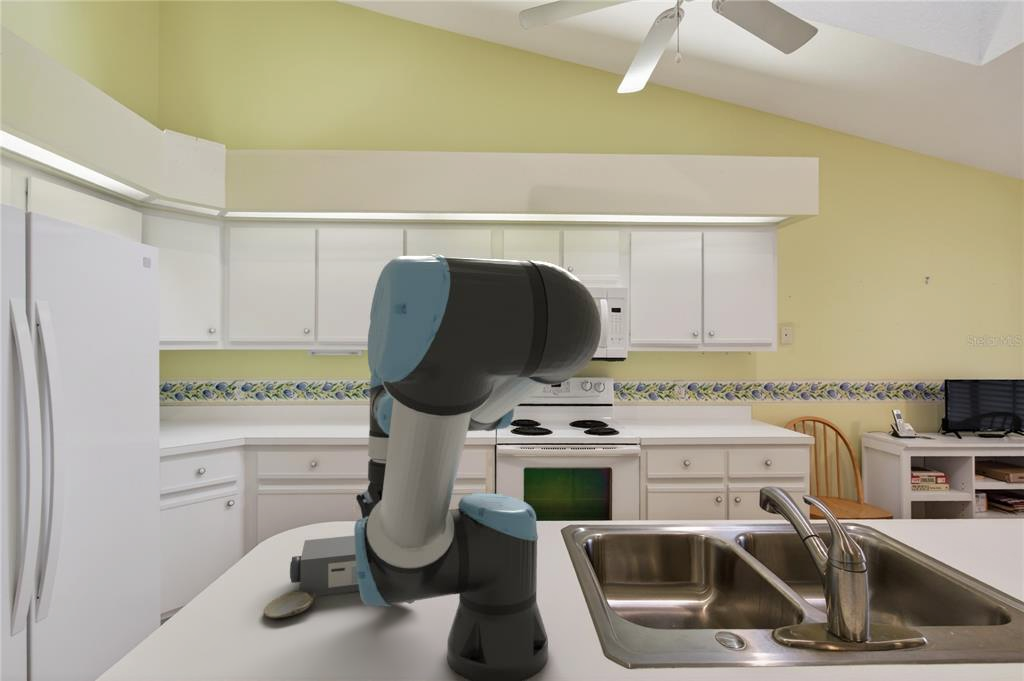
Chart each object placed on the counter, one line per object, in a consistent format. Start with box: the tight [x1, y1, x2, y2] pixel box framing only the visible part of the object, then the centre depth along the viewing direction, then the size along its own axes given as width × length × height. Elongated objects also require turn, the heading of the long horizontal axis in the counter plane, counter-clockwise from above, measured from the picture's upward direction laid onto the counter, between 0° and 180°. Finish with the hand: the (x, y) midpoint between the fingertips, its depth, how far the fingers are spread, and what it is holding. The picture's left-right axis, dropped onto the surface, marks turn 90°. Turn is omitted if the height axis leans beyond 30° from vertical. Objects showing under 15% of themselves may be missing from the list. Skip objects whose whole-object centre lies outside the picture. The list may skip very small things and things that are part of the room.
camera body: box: [289, 535, 360, 598], centre depth 106 cm, size 10×18×8 cm, turn 106°
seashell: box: [263, 590, 316, 619], centre depth 95 cm, size 8×3×8 cm
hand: (387, 590), depth 97 cm, fingers closed
